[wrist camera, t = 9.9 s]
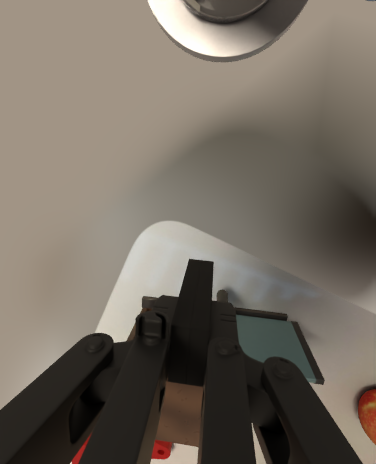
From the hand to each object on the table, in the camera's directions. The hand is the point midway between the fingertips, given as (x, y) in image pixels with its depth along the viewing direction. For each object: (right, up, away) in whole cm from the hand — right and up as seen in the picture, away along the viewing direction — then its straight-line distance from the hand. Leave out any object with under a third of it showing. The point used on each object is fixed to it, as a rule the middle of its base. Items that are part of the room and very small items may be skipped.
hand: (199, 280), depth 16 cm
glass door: (+10, -8, +26) cm, 29 cm away
